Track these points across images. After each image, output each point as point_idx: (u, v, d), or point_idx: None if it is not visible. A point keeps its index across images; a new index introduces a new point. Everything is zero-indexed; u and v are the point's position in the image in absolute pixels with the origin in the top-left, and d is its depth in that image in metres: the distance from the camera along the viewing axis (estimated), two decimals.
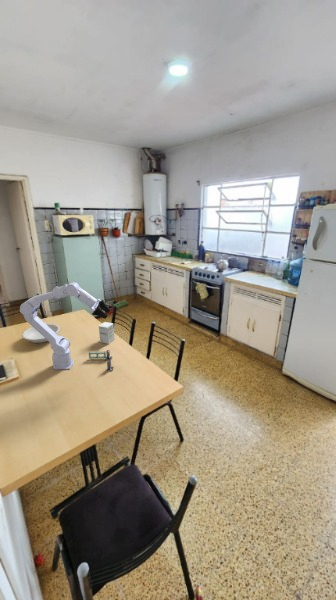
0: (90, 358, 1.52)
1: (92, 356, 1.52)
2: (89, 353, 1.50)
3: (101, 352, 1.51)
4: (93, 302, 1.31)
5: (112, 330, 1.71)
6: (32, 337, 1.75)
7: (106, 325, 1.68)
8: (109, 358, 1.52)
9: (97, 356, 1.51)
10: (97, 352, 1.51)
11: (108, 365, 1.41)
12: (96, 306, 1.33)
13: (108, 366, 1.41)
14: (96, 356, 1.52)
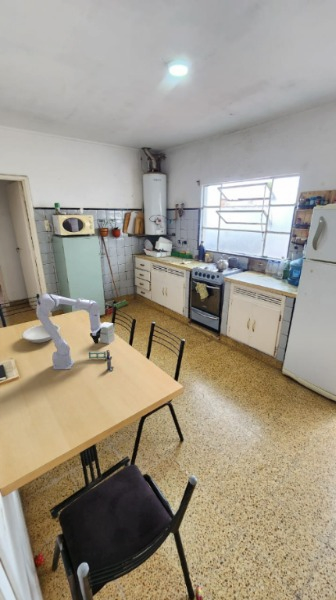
0: (90, 358, 1.52)
1: (92, 356, 1.52)
2: (89, 353, 1.50)
3: (101, 352, 1.51)
4: (98, 327, 1.49)
5: (112, 330, 1.71)
6: (32, 337, 1.75)
7: (106, 324, 1.68)
8: (109, 358, 1.52)
9: (97, 356, 1.51)
10: (97, 352, 1.51)
11: (108, 365, 1.41)
12: None
13: (108, 366, 1.41)
14: (96, 356, 1.52)
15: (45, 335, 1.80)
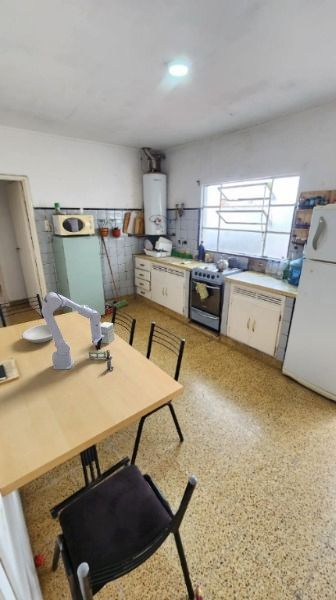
0: (90, 358, 1.52)
1: (92, 356, 1.52)
2: (89, 353, 1.50)
3: (101, 352, 1.51)
4: (99, 336, 1.51)
5: (112, 330, 1.71)
6: (32, 337, 1.75)
7: (105, 325, 1.68)
8: (109, 358, 1.52)
9: (97, 356, 1.51)
10: (97, 352, 1.51)
11: (108, 365, 1.41)
12: None
13: (108, 366, 1.41)
14: (96, 356, 1.52)
15: (45, 335, 1.80)
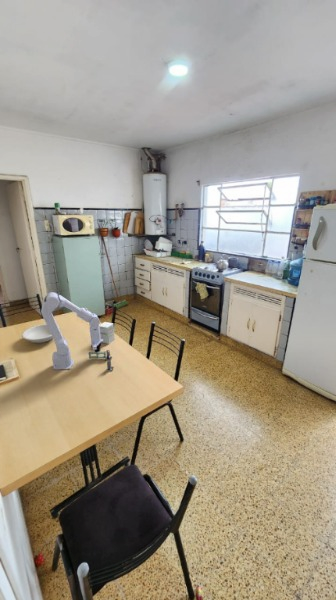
0: (90, 358, 1.52)
1: (92, 356, 1.52)
2: (89, 353, 1.50)
3: (101, 352, 1.51)
4: (98, 341, 1.48)
5: (112, 330, 1.71)
6: (32, 337, 1.75)
7: (106, 325, 1.68)
8: (109, 358, 1.52)
9: (97, 356, 1.51)
10: (97, 352, 1.51)
11: (108, 365, 1.41)
12: None
13: (108, 366, 1.41)
14: (96, 356, 1.52)
15: (45, 335, 1.80)
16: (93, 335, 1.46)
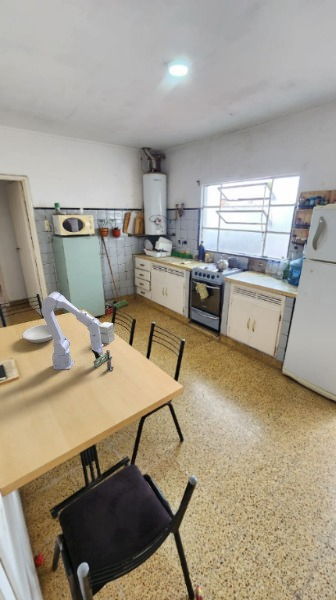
0: None
1: (97, 364, 1.44)
2: (95, 362, 1.42)
3: (104, 355, 1.48)
4: (100, 345, 1.43)
5: (112, 330, 1.71)
6: (32, 337, 1.75)
7: (106, 324, 1.68)
8: (109, 358, 1.52)
9: (101, 361, 1.47)
10: (101, 357, 1.46)
11: (108, 365, 1.41)
12: None
13: (108, 366, 1.41)
14: (100, 362, 1.46)
15: (45, 335, 1.80)
16: (92, 341, 1.40)
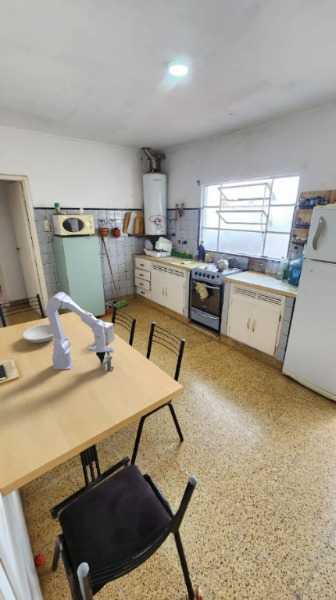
0: None
1: None
2: (104, 363, 1.41)
3: (107, 355, 1.48)
4: None
5: (112, 330, 1.71)
6: (32, 337, 1.75)
7: (106, 324, 1.68)
8: (109, 358, 1.52)
9: (106, 361, 1.46)
10: (106, 357, 1.45)
11: (108, 365, 1.41)
12: None
13: (108, 366, 1.41)
14: (105, 363, 1.45)
15: (45, 335, 1.80)
16: (96, 342, 1.38)
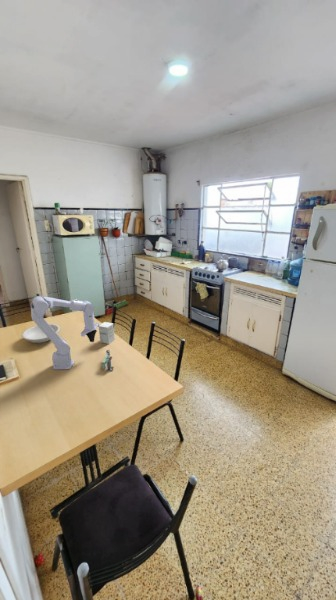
0: None
1: None
2: (104, 363, 1.41)
3: (107, 355, 1.48)
4: None
5: (112, 330, 1.71)
6: (32, 337, 1.75)
7: (106, 325, 1.68)
8: (109, 358, 1.52)
9: (106, 361, 1.46)
10: (106, 357, 1.45)
11: (108, 365, 1.41)
12: None
13: (108, 366, 1.41)
14: (105, 363, 1.45)
15: (45, 335, 1.80)
16: (88, 322, 1.45)
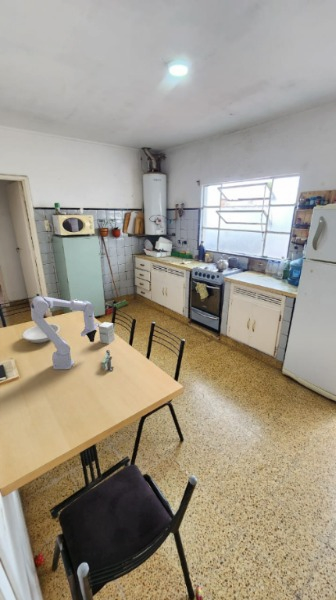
0: None
1: None
2: (104, 363, 1.41)
3: (107, 355, 1.48)
4: None
5: (112, 330, 1.71)
6: (32, 337, 1.75)
7: (106, 325, 1.68)
8: (109, 358, 1.52)
9: (106, 361, 1.46)
10: (106, 357, 1.45)
11: (108, 365, 1.41)
12: None
13: (108, 366, 1.41)
14: (105, 363, 1.45)
15: (45, 335, 1.80)
16: (88, 322, 1.45)
